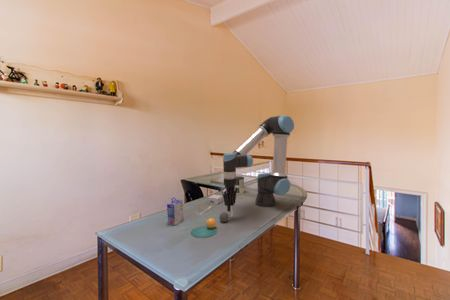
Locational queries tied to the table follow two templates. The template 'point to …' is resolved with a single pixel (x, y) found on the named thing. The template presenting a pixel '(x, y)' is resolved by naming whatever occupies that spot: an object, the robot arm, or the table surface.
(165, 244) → the table surface
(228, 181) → the robot arm
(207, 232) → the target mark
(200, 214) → the crossbow
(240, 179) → the coffee can
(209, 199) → the charger
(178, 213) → the ink cartridge box
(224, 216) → the dark grey ball
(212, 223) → the object ball
